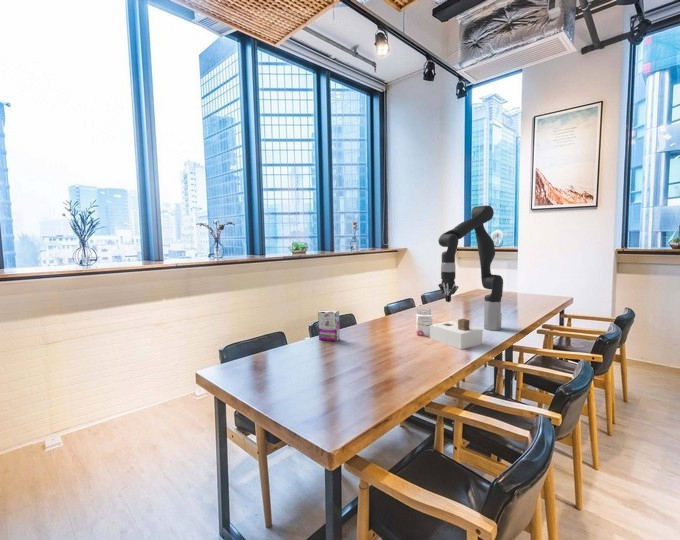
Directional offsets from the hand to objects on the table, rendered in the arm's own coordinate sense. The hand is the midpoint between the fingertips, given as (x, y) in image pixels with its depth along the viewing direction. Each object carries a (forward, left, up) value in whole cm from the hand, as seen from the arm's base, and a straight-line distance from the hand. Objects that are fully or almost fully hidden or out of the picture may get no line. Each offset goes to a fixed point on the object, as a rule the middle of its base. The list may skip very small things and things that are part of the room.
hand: (448, 301), depth 195 cm
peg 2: (0, +11, -15) cm, 19 cm away
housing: (0, +5, -21) cm, 22 cm away
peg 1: (0, 0, -20) cm, 20 cm away
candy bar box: (+56, -36, -21) cm, 70 cm away
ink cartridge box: (+5, -14, -21) cm, 26 cm away
